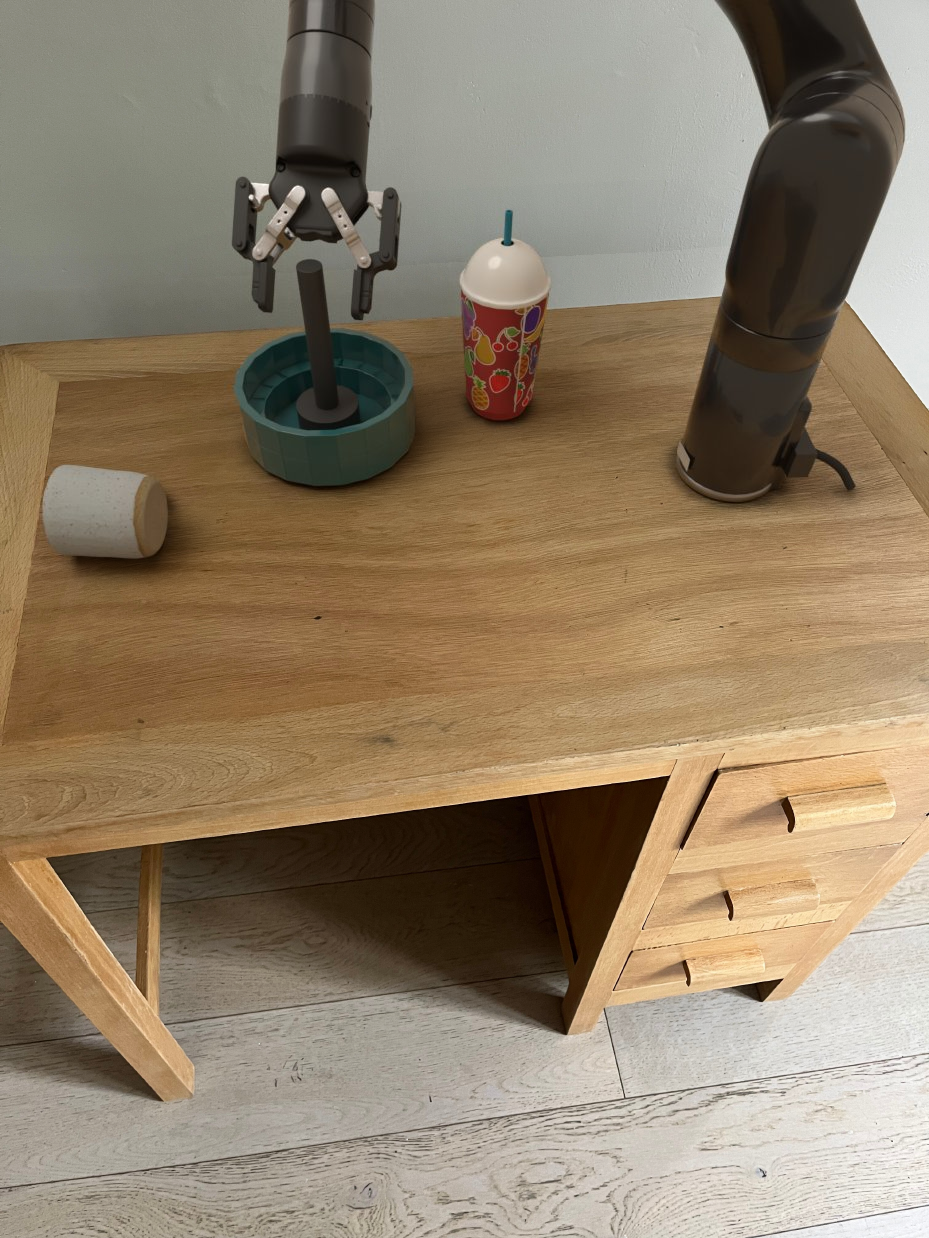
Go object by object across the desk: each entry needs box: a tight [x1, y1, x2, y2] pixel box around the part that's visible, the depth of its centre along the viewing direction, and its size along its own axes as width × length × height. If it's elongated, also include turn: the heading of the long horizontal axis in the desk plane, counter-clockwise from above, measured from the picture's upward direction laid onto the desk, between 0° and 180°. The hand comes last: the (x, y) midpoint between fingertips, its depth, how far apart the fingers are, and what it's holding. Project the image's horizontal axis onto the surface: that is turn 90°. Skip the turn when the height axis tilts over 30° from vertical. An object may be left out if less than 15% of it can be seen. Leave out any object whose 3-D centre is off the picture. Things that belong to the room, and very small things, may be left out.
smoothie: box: [458, 209, 552, 421], centre depth 81 cm, size 8×8×20 cm
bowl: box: [233, 327, 416, 487], centre depth 83 cm, size 17×17×6 cm
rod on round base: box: [295, 258, 361, 430], centre depth 78 cm, size 6×6×17 cm
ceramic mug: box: [41, 464, 169, 559], centre depth 73 cm, size 11×8×8 cm
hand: (311, 314), depth 73 cm, fingers open, 7 cm apart
